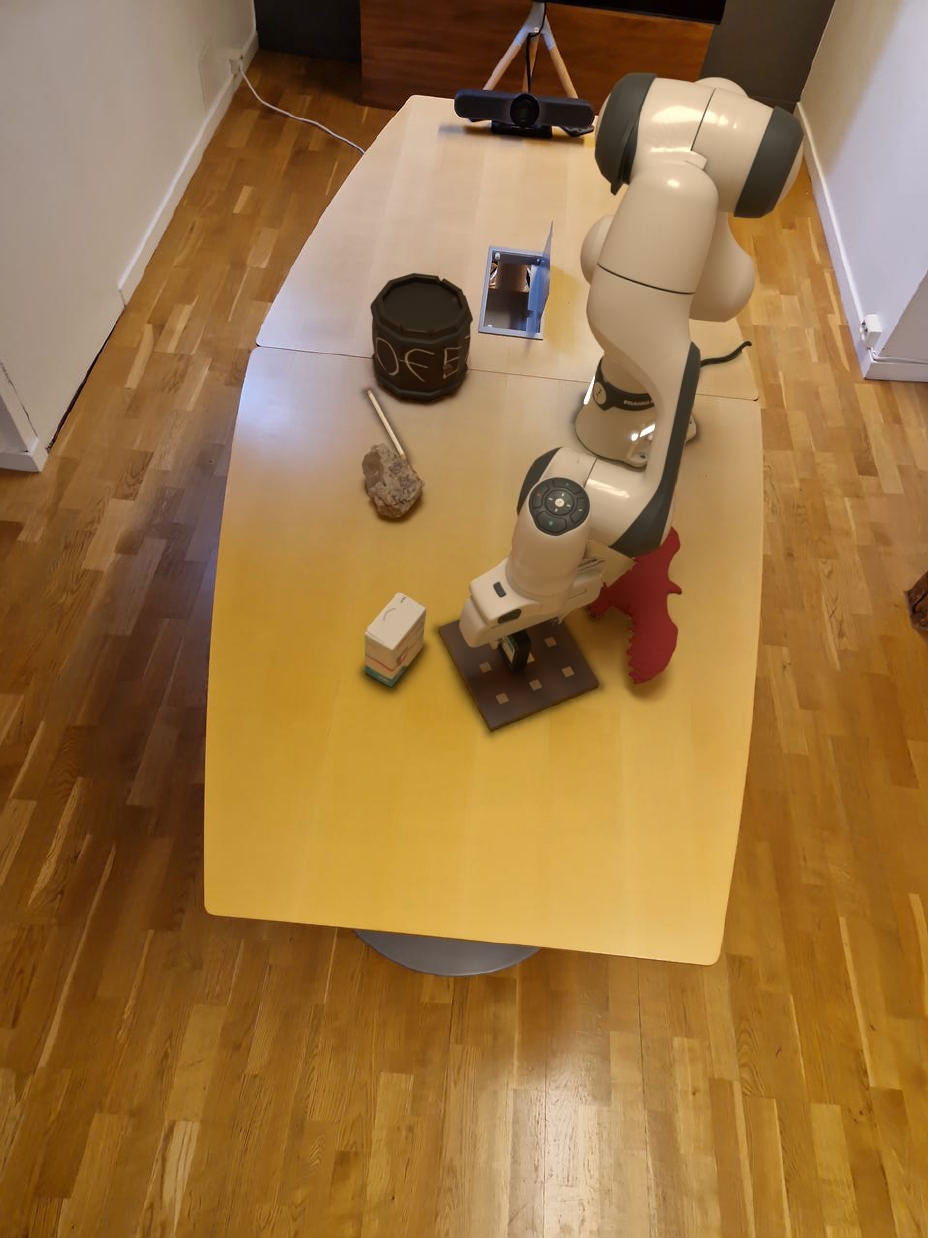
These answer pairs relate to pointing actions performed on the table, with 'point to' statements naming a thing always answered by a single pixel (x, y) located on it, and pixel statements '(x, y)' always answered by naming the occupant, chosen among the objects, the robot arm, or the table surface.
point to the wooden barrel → (420, 337)
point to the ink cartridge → (516, 649)
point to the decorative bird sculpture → (645, 609)
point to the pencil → (385, 422)
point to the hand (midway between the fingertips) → (524, 632)
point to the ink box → (394, 639)
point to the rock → (391, 481)
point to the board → (521, 673)
